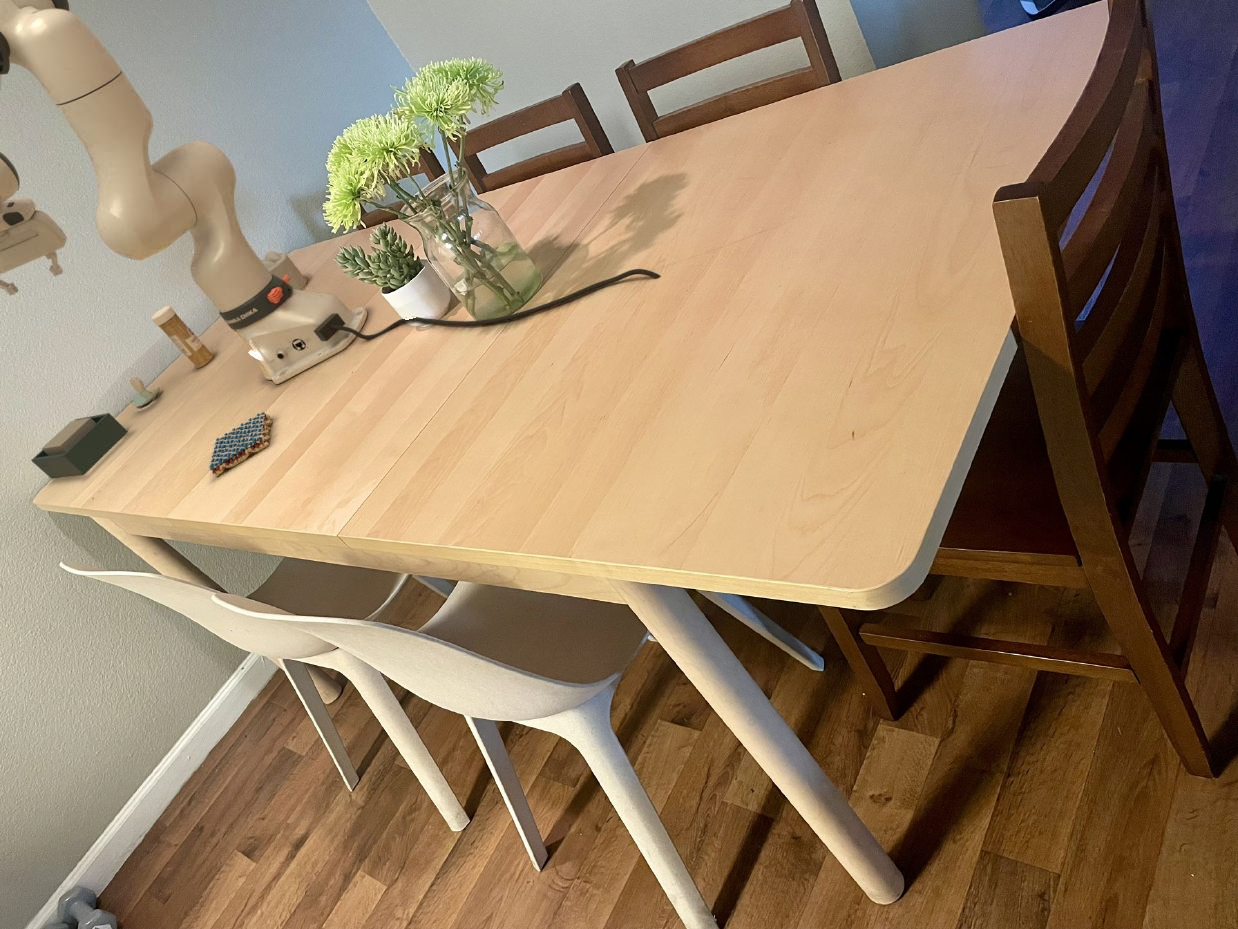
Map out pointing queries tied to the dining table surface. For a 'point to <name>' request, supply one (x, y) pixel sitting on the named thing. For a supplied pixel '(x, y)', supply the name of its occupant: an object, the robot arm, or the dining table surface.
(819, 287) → the dining table surface
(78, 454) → the crate
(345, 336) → the robot arm
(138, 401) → the pacifier
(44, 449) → the block
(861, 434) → the dining table surface
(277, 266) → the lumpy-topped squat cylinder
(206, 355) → the sprinkles bottle
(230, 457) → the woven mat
